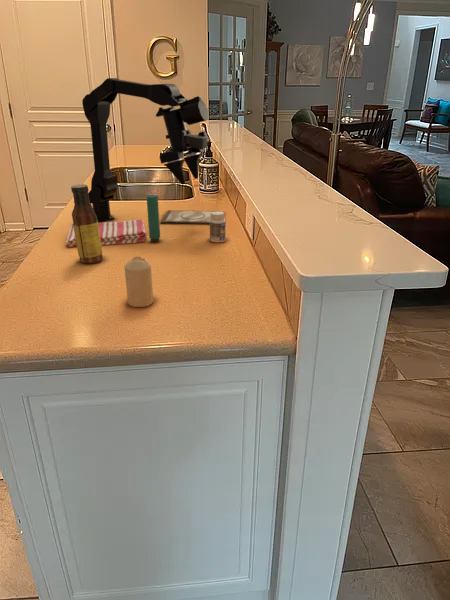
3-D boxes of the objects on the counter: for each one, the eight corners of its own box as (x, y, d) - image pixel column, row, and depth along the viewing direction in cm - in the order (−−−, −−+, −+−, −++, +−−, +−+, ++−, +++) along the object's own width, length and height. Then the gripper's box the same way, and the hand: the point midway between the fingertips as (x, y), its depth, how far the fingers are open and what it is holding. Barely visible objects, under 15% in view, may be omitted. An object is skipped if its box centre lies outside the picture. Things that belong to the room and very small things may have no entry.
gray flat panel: (160, 223, 158) (160, 221, 158) (168, 211, 172) (168, 209, 172) (220, 224, 157) (220, 222, 157) (222, 212, 171) (222, 210, 170)
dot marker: (148, 240, 142) (144, 195, 136) (158, 239, 143) (155, 194, 137) (151, 243, 139) (148, 197, 133) (162, 242, 141) (159, 196, 135)
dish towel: (147, 242, 140) (146, 231, 139) (65, 247, 136) (64, 236, 134) (143, 226, 155) (142, 215, 154) (70, 230, 151) (68, 219, 149)
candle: (129, 297, 106) (125, 254, 101) (153, 296, 106) (151, 254, 102) (126, 307, 101) (122, 263, 96) (152, 307, 101) (149, 263, 97)
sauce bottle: (107, 257, 128) (99, 184, 120) (94, 265, 123) (85, 189, 114) (87, 255, 130) (77, 182, 122) (73, 262, 125) (62, 187, 116)
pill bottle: (223, 243, 140) (223, 215, 136) (208, 242, 141) (207, 214, 137) (226, 238, 144) (227, 211, 140) (211, 237, 145) (211, 210, 141)
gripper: (185, 125, 129) (200, 182, 134) (212, 119, 145) (224, 171, 150) (152, 134, 134) (167, 189, 139) (181, 128, 149) (194, 177, 154)
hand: (190, 181), depth 145 cm, fingers open, 9 cm apart
